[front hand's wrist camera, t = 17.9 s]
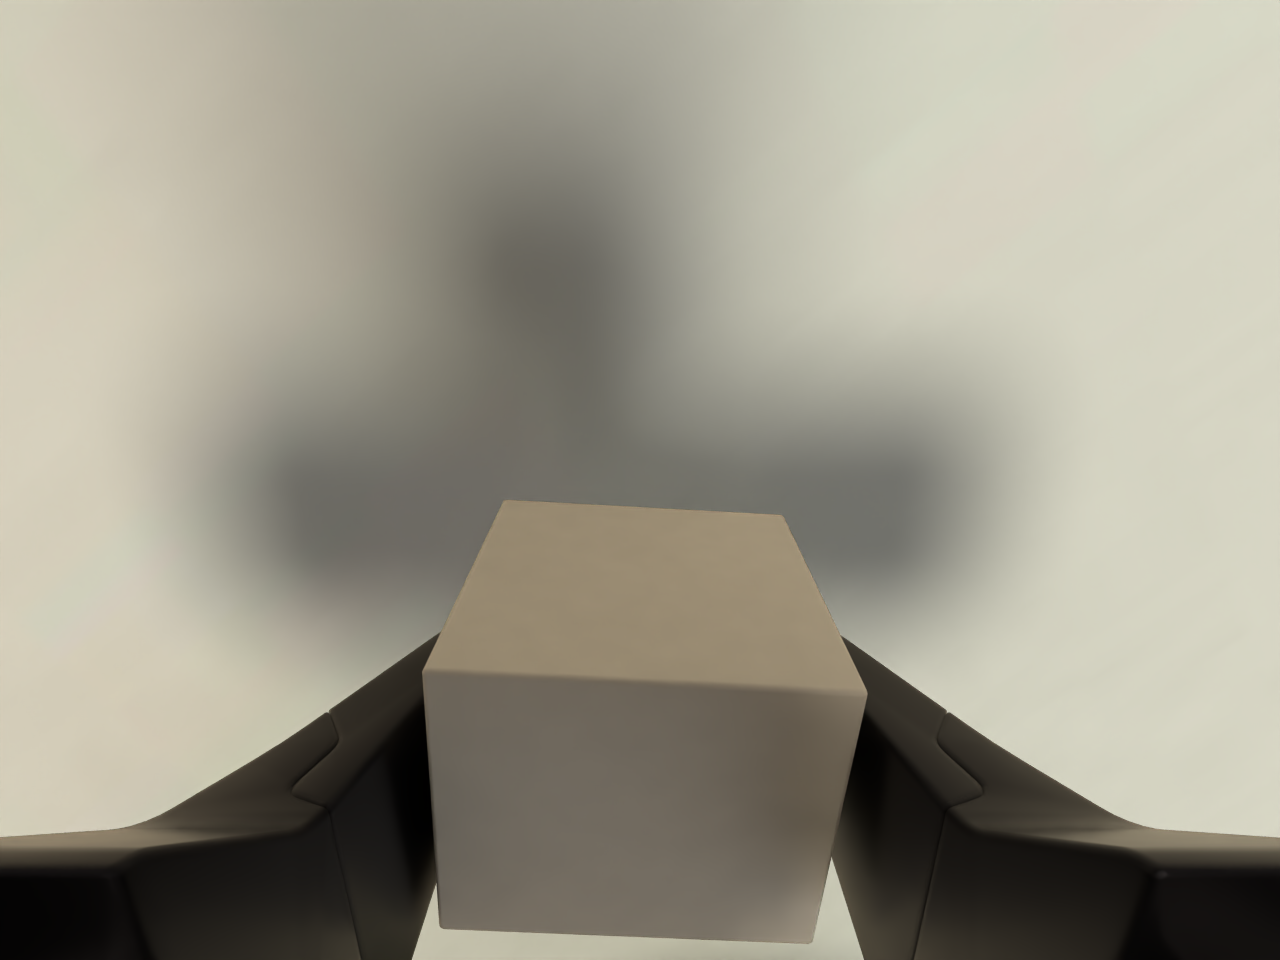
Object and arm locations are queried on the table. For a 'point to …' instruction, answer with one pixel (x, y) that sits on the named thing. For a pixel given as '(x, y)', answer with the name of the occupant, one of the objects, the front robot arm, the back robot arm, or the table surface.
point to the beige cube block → (638, 728)
